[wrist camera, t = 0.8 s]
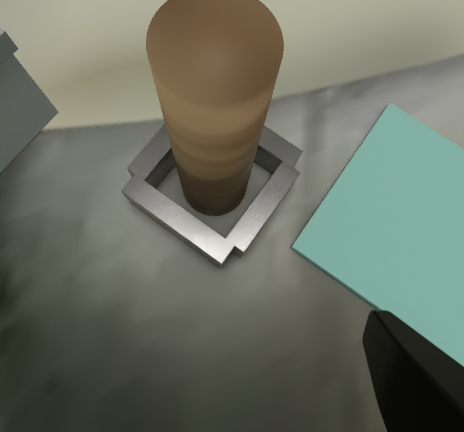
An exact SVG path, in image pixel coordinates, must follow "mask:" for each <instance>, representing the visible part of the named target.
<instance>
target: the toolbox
mask: <svg viewBox="0 0 464 432" xmlns="http://www.w3.org/2000/svg"><path fill="white" fill-rule="evenodd" d="M17 49H18V48H17V47H16V45H15V44H14V42H13V41H12V40H11V39H10V37H9V36H8V34H6V32H5V31H4V30H3V29H1V28H0V173H1V172H2V171H3V170H4V169H5V168H6V167H7V166H8V165H9V164H10V162H11V161H12V160H13V159H14V158H15V157H16V156H17V155H18V154H19V153H20V152H21V151H22V150H23V149H24V148H25V147H26V146H27V145H28V144H29V142H30V141H31V140H32V139H33V138H34V137H35V136H36V135H37V134H38V133H39V132H40V131H41V130H42V129H43V128H44V127H45V126H46V124H48V122H49V121H50V120H51V119H52V118H53V117H54V116H55V115H56V114H57V113H58V111H57V110H56V108H55V107H54V106H53V105H52V103H51V102H50V101H49V99H48V98H47V97H46V96H45V94H44V93H43V92H42V91H41V89H40V88H39V87H38V86H37V84H36V83H35V82H34V80H33V79H32V78H31V77H30V75H29V74H28V73H27V72H26V70H25V69H24V68H23V67H22V65H21V64H20V63H19V62H18V60H17V59H16V58H15V56H14V55H13V53H14V52H15V51H17Z"/></svg>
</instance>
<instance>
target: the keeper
mask: <svg viewBox="0 0 464 432" xmlns="http://www.w3.org/2000/svg"><path fill="white" fill-rule="evenodd" d="M302 152H303V151H302V150H300V149H299V148H297V147H296V146H294V145H293V144H291V143H290V142H288V141H287V140H285V139H284V138H282V137H281V136H279V135H278V134H276V133H275V132H273V131H272V130H270V129H269V128H267V127H266V126H263V130H262V133H261V137H260V140H259V144H258V148H257V151H256V155H255V159H254V162H256V163H257V164H259V165H260V166H262V167H263V168H265V169H266V170H268V171H269V172H271V173H272V174H273V175H272V176H271V178H270V179H269V181H268V182H267V183H266V185H265V186H264V187H263V189H262V190H261V191H260V193H259V194H258V196H257V197H256V198H255V200H254V201H253V202H252V204H251V205H250V206H249V208H248V209H247V211H246V212H245V213H244V215H243V216H242V217H241V219H240V220H239V221H238V223H237V224H236V226H235V227H234V228H233V230H232V231H231V232H230V234H229V235H228V236H227V238H226V239H225V238H224V237H222V236H221V235H219V234H218V233H217V232H215V231H214V230H212V229H211V228H210V227H208V226H207V225H205V224H204V223H203V222H201V221H200V220H198V219H197V218H196V217H194V216H193V215H191V214H190V213H189V212H187V211H186V210H184V209H183V208H182V207H180V206H179V205H177V204H176V203H175V202H173V201H172V200H170V199H169V198H168V197H166V196H165V195H163V194H162V193H161V192H159V191H158V190H157V189H155V188H156V187H157V186H158V185H159V183H160V182H161V181H162V180H163V178H164V177H165V176H166V175H167V174H168V172H169V171H170V170H171V169H172V167H173V166H174V165H175V164H176V163H175V159H174V155H173V151H172V147H171V144H170V140H169V136H168V132H167V128H166V124H164V125H163V126H162V127H161V129H160V130H159V131H158V132H157V133H156V134H155V136H154V137H153V138H152V139H151V140H150V141H149V143H148V144H147V145H146V146H145V147H144V149H143V150H142V151H141V152H140V153H139V154H138V156H137V157H136V158H135V159H134V160H133V161H132V163H131V164H130V165H129V166H128V167H127V169H128V171H129V173H130V174H131V176H132V179H131V180H130V181H129V182H128V183H127V185H126V186H125V187H124V188H123V189H122V190H121V191H122V192H123V194H124V195H125V196H126V198H127V199H128V200H129V201H130V203H131V204H133V205H134V206H135V207H137V208H138V209H140V210H141V211H142V212H144V213H145V214H146V215H148V216H149V217H151V218H152V219H153V220H155V221H156V222H157V223H159V224H160V225H162V226H163V227H164V228H166V229H167V230H168V231H170V232H171V233H173V234H174V235H175V236H177V237H178V238H179V239H181V240H182V241H184V242H185V243H186V244H188V245H189V246H190V247H192V248H193V249H195V250H196V251H197V252H199V253H200V254H201V255H203V256H204V257H206V258H207V259H208V260H210V261H211V262H212V263H214V264H215V265H217V266H218V267H219V268H221V267H222V266H223V264H224V263H225V262H226V260H227V259H228V258H229V256H230V255H231V253H232V252H233V253H234V254H235V255H237V256H238V257H240V258H241V257H242V255H243V254H244V252H245V251H246V250H247V248H248V247H249V245H250V244H251V243H252V241H253V240H254V238H255V237H256V236H257V234H258V233H259V231H260V230H261V229H262V227H263V226H264V224H265V223H266V222H267V220H268V219H269V217H270V216H271V215H272V213H273V212H274V210H275V209H276V207H277V206H278V205H279V203H280V202H281V200H282V199H283V198H284V196H285V195H286V193H287V192H288V191H289V189H290V188H291V186H292V185H293V183H294V182H295V180H296V179H297V177H298V176H299V174H300V172H298V171H297V170H295V169H294V166H295V164H296V162H297V161H298V159H299V157H300V155H301V154H302Z"/></svg>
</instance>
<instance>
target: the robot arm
mask: <svg viewBox="0 0 464 432" xmlns="http://www.w3.org/2000/svg"><path fill="white" fill-rule="evenodd" d="M363 346H364V350H365V355H366V359H367V363H368V367H369V371H370V375H371V379H372V383H373V387H374V391H375V395H376V399H377V403H378V406H379V409H380V412H381V415H382V418H383V421H384V424H385V426H386V429H387V432H464V366H462V365H461V364H460V363H458V362H457V361H456V360H454V359H453V358H452V357H450V356H449V355H448V354H446V353H445V352H444V351H442V350H441V349H440V348H438V347H437V346H436V345H434V344H433V343H432V342H430V341H429V340H428V339H426V338H425V337H424V336H422V335H421V334H420V333H418V332H417V331H416V330H414V329H413V328H412V327H410V326H409V325H408V324H406V323H405V322H404V321H402V320H401V319H400V318H398V317H397V316H396V315H394V314H393V313H391V312H390V311H388V310H372V311H371V312H370V313H369V316H368V319H367V323H366V326H365V330H364V333H363Z"/></svg>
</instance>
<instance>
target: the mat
mask: <svg viewBox="0 0 464 432" xmlns="http://www.w3.org/2000/svg"><path fill="white" fill-rule="evenodd" d="M290 248H291V249H293V250H294V251H296V252H297V253H298V254H300V255H301V256H303V257H304V258H306V259H307V260H308V261H310V262H311V263H313V264H314V265H316V266H317V267H318V268H320V269H321V270H323V271H324V272H325V273H327V274H328V275H330V276H331V277H333V278H334V279H335V280H337V281H338V282H340V283H341V284H342V285H344V286H345V287H347V288H348V289H350V290H351V291H352V292H354V293H355V294H357V295H358V296H360V297H361V298H362V299H364V300H365V301H367V302H368V303H369V304H371V305H372V306H374V307H375V308H377V309H378V310H388V311H390V312H391V313H393V314H394V315H396V316H397V317H398V318H400V319H401V320H402V321H404V322H405V323H406V324H408V325H409V326H410V327H412V328H413V329H414V330H416V331H417V332H418V333H420V334H421V335H422V336H424V337H425V338H426V339H428V340H429V341H430V342H432V343H433V344H434V345H436V346H437V347H438V348H440V349H441V350H442V351H444V352H445V353H446V354H448V355H449V356H450V357H452V358H453V359H454V360H456V361H457V362H458V363H460V364H461V365H462V366H464V149H462V148H461V147H459V146H458V145H456V144H455V143H453V142H451V141H450V140H448V139H447V138H445V137H444V136H442V135H440V134H439V133H437V132H436V131H434V130H433V129H431V128H429V127H428V126H426V125H425V124H423V123H422V122H420V121H418V120H417V119H415V118H414V117H412V116H411V115H409V114H407V113H406V112H404V111H403V110H401V109H400V108H398V107H396V106H395V105H393V104H392V103H389V104H388V105H387V107H386V108H385V110H384V111H383V112H382V114H381V115H380V117H379V118H378V120H377V121H376V123H375V124H374V126H373V127H372V129H371V130H370V132H369V133H368V134H367V136H366V137H365V139H364V140H363V142H362V143H361V145H360V146H359V148H358V149H357V151H356V152H355V154H354V155H353V156H352V158H351V159H350V161H349V162H348V164H347V165H346V167H345V168H344V170H343V171H342V173H341V174H340V176H339V177H338V178H337V180H336V181H335V183H334V184H333V186H332V187H331V189H330V190H329V192H328V193H327V195H326V196H325V198H324V199H323V200H322V202H321V203H320V205H319V206H318V208H317V209H316V211H315V212H314V214H313V215H312V217H311V218H310V220H309V221H308V223H307V224H306V225H305V227H304V228H303V230H302V231H301V233H300V234H299V236H298V237H297V239H296V240H295V242H294V243H293V245H292V246H291V247H290Z"/></svg>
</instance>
